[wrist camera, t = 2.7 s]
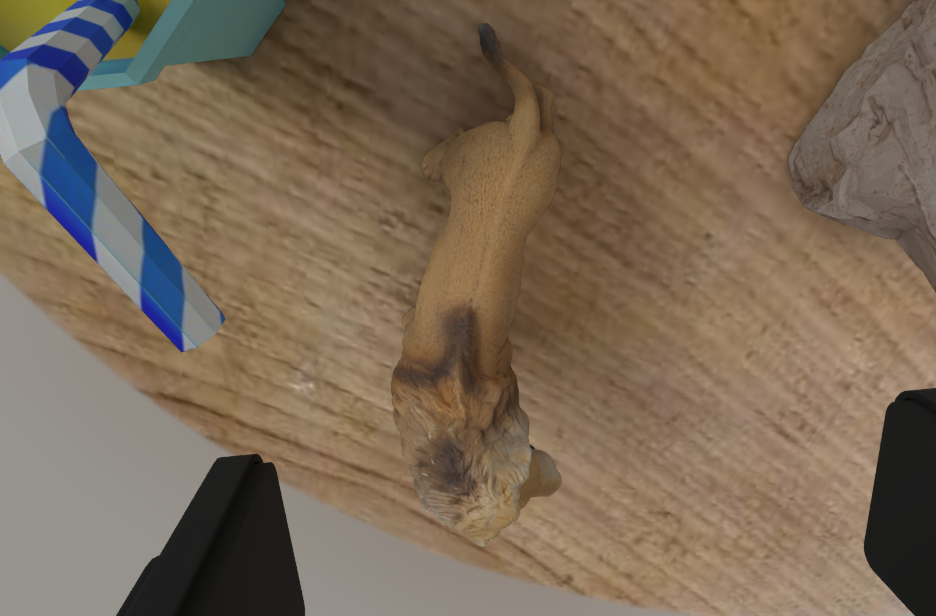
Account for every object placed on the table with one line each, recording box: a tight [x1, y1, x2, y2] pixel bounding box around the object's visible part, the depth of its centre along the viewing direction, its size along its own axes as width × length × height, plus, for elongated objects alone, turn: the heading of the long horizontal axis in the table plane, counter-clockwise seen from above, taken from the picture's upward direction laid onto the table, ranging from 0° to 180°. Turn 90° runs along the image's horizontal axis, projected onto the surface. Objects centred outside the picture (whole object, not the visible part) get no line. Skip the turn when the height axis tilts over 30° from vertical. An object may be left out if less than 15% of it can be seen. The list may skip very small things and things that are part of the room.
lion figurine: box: [391, 23, 562, 547], centre depth 19 cm, size 15×5×9 cm, turn 178°
